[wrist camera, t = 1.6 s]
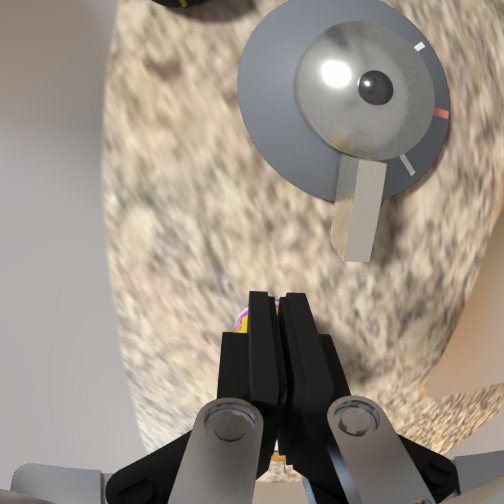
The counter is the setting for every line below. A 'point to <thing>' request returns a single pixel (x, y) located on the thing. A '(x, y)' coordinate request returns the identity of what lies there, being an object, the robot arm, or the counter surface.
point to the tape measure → (178, 2)
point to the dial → (362, 117)
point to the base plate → (284, 106)
